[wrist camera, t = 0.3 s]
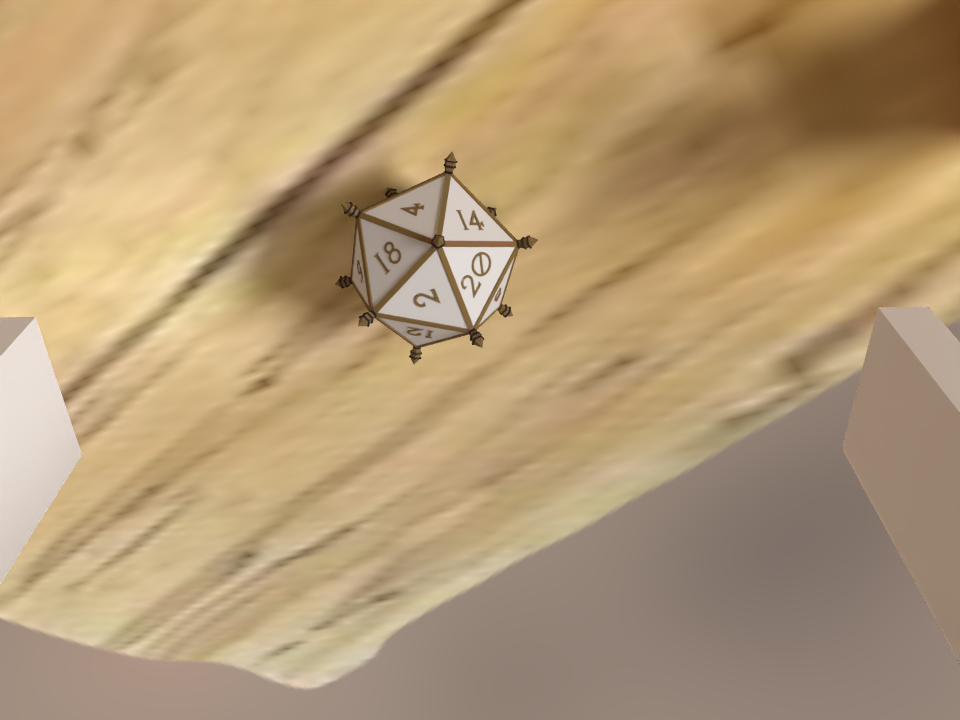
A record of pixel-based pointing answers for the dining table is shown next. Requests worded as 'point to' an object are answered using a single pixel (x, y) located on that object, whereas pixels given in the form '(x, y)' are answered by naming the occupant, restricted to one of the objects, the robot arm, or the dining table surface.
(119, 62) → the dining table surface
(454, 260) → the game die
